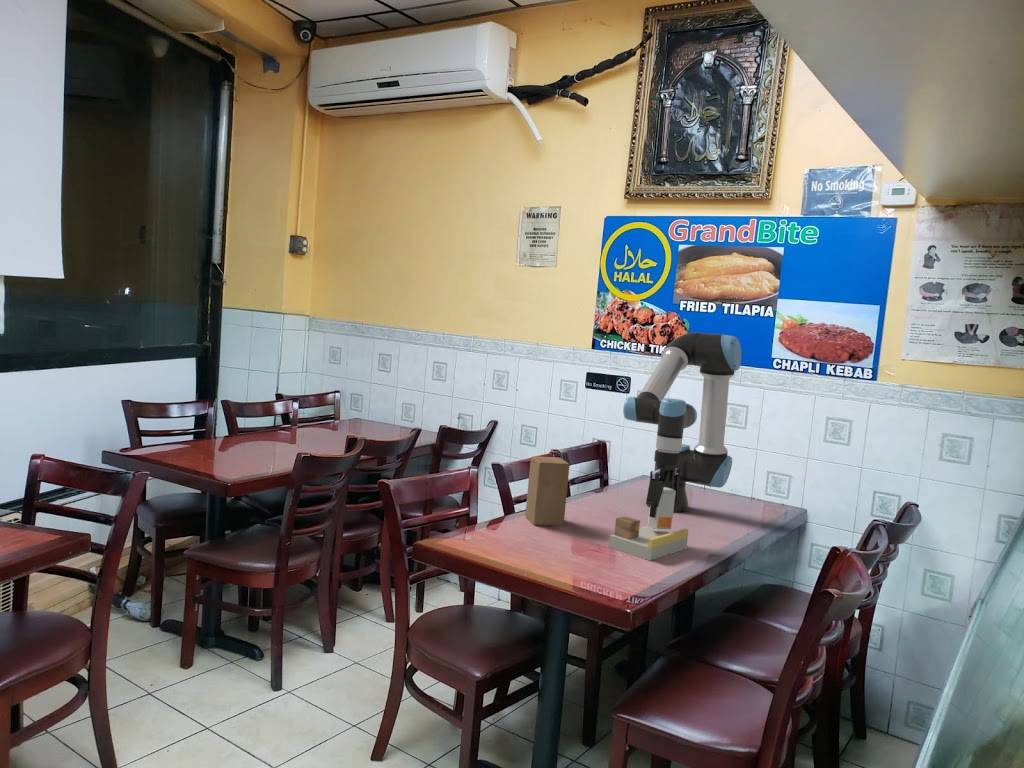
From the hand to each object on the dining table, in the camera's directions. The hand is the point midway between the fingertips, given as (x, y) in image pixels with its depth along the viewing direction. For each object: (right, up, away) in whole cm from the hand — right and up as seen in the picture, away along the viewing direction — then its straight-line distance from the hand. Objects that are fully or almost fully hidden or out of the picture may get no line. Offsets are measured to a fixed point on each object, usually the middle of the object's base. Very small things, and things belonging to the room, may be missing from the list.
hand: (659, 525), depth 228 cm
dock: (-5, -6, -5) cm, 9 cm away
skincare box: (0, -1, 0) cm, 1 cm away
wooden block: (-34, -1, +14) cm, 37 cm away
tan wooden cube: (-11, -2, -8) cm, 14 cm away
